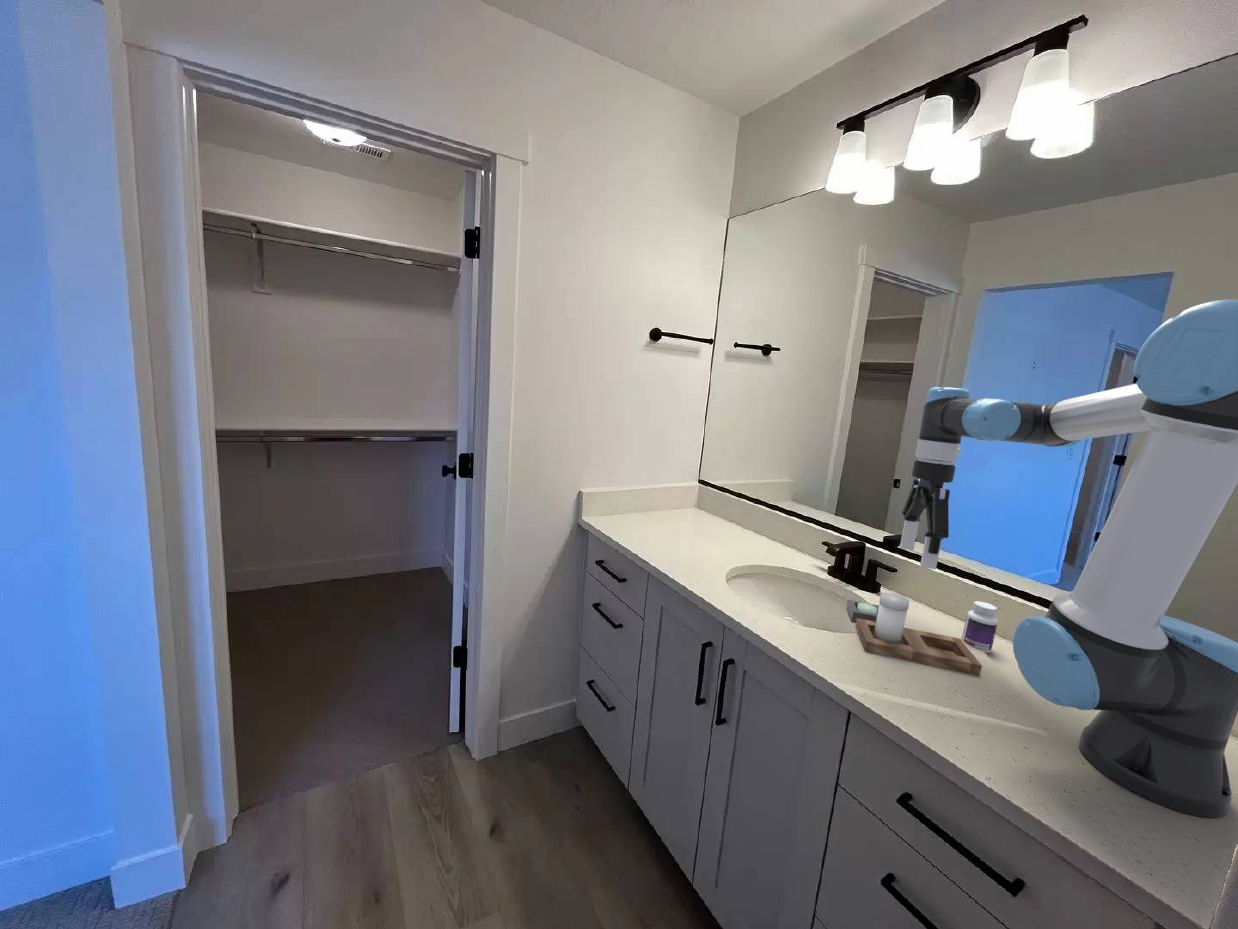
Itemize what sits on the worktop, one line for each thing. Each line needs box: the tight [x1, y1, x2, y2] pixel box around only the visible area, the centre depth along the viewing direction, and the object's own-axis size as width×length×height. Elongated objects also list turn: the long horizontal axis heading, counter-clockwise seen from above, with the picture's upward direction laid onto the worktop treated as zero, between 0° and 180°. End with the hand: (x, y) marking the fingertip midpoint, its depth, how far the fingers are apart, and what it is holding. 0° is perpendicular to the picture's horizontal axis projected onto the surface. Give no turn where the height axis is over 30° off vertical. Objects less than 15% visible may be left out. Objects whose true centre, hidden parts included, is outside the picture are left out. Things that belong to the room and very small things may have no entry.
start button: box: [857, 602, 877, 614], centre depth 115 cm, size 4×4×3 cm
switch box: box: [845, 599, 879, 624], centre depth 115 cm, size 7×7×4 cm
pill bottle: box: [961, 600, 999, 654], centre depth 108 cm, size 5×5×10 cm
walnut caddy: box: [855, 618, 983, 676], centre depth 102 cm, size 20×11×3 cm, turn 74°
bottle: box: [873, 592, 910, 644], centre depth 103 cm, size 5×5×10 cm
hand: (916, 557), depth 109 cm, fingers open, 13 cm apart
